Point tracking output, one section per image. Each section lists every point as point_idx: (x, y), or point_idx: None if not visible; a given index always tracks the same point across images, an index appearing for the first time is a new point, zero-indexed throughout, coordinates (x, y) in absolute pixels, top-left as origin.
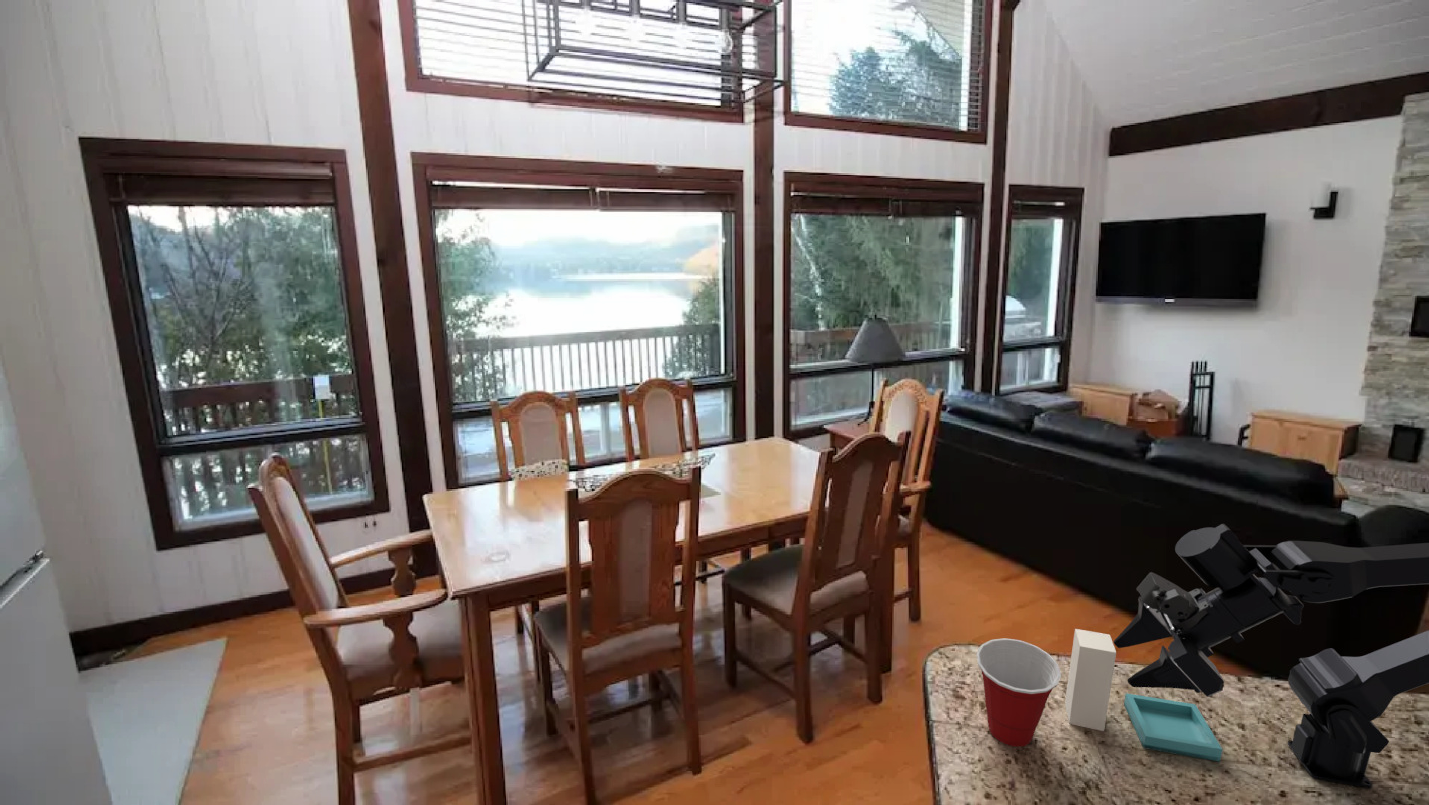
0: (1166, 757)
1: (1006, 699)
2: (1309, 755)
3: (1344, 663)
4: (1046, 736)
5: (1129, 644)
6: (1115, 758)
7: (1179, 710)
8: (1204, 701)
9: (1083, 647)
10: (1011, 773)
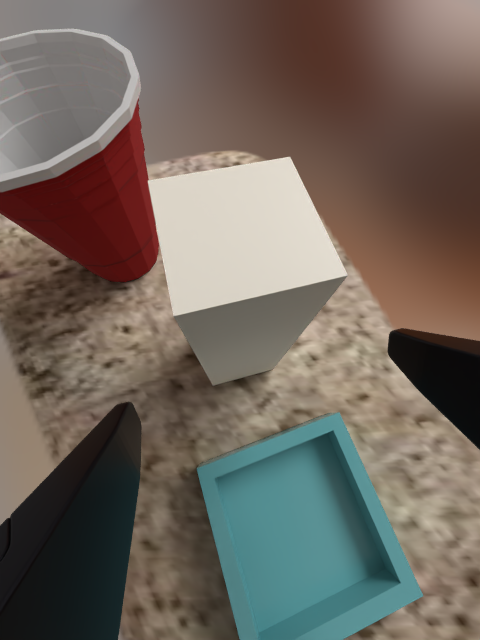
0: (196, 513)
1: None
2: None
3: None
4: (143, 301)
5: (425, 387)
6: (140, 413)
7: (377, 543)
8: None
9: (151, 194)
10: (27, 271)
